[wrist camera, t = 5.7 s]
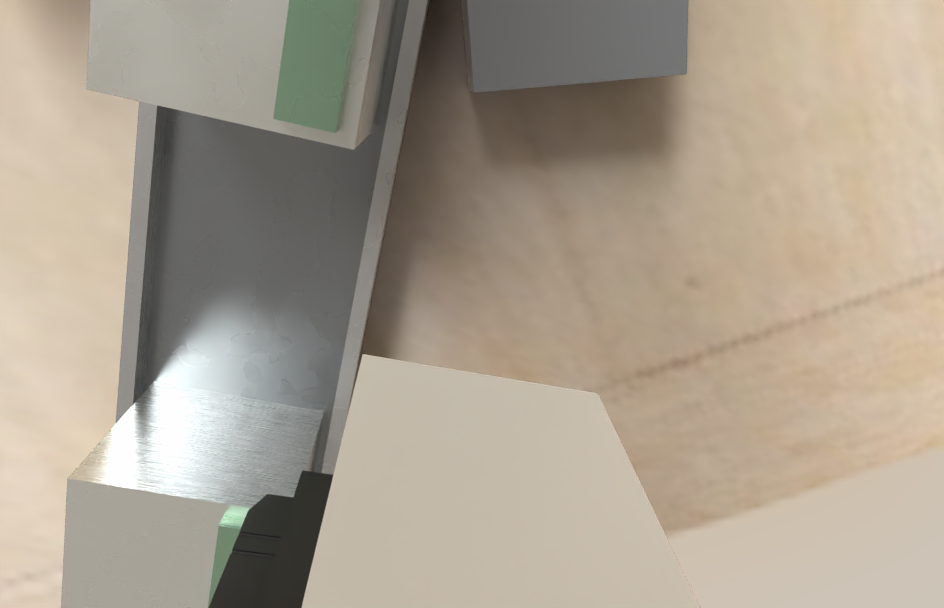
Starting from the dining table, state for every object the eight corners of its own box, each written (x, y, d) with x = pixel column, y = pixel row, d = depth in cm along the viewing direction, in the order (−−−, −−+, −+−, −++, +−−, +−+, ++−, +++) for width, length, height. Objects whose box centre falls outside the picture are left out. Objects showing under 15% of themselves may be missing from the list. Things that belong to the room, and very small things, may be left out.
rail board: (183, -103, 24) (39, -196, 15) (436, -36, 25) (436, -89, 16) (134, 479, 31) (19, 636, 23) (330, 511, 32) (291, 672, 24)
